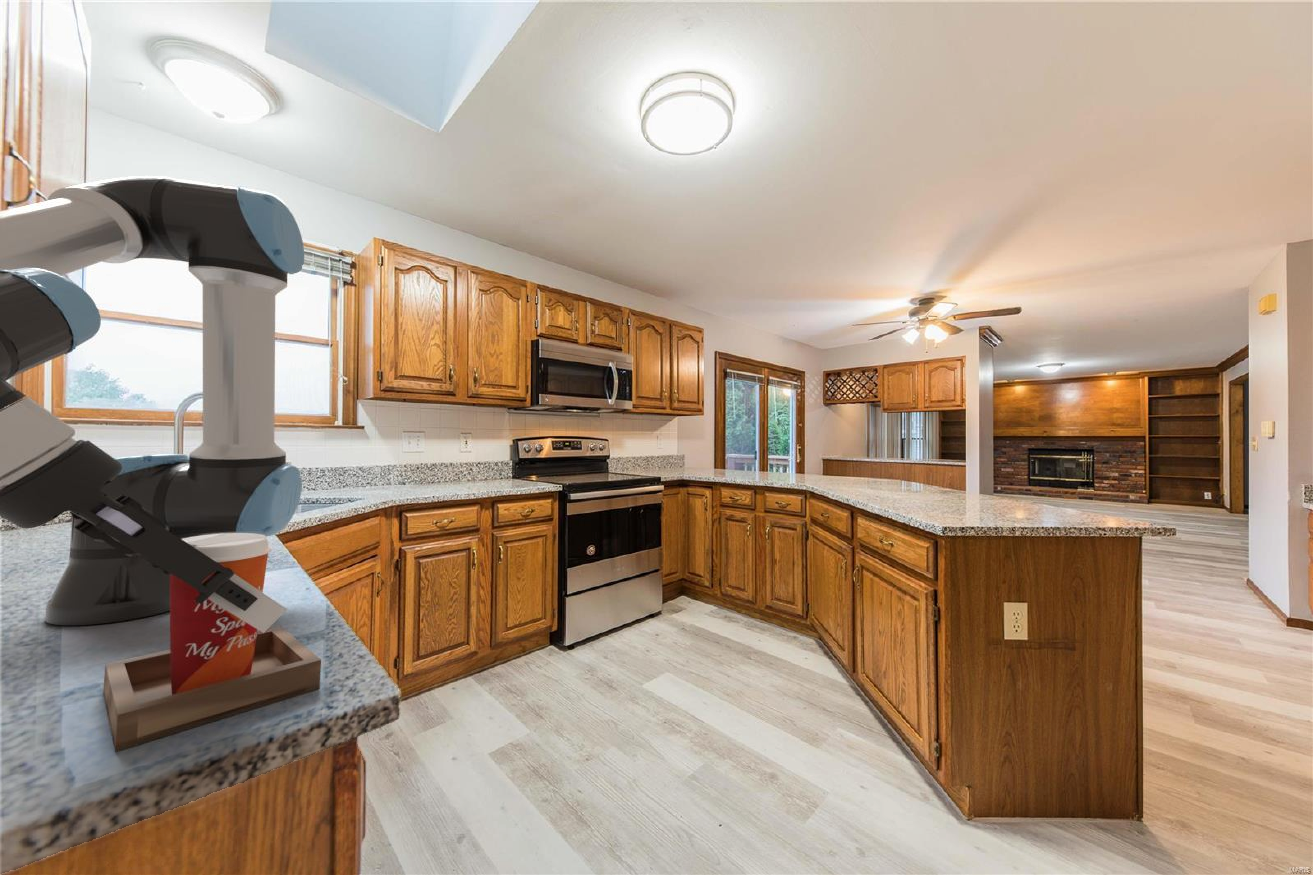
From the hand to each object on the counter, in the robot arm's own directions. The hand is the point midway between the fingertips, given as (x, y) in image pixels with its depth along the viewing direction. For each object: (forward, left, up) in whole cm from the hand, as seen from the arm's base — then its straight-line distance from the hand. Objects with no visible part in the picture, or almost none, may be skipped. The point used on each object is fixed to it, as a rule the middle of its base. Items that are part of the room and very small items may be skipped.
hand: (255, 609), depth 52 cm
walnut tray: (+3, -2, -8) cm, 8 cm away
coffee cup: (+3, -2, -7) cm, 8 cm away
